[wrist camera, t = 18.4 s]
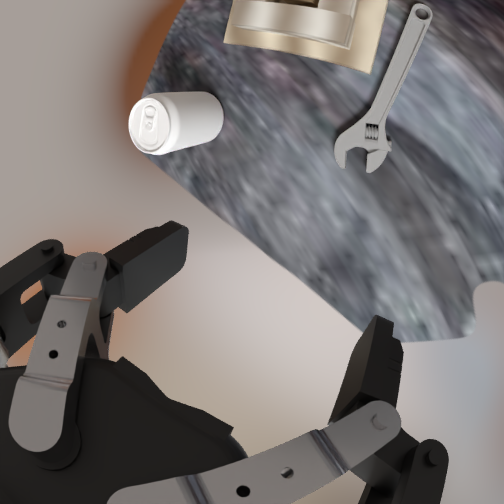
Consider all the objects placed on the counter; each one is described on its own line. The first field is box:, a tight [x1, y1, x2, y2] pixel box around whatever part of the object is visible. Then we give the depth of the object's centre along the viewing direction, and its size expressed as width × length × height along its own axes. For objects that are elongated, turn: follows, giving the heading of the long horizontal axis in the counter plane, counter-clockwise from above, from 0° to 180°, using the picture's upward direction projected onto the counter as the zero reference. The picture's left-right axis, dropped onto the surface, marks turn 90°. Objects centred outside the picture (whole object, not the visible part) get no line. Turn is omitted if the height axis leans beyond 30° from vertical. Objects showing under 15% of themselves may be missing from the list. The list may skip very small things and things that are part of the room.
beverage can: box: [129, 92, 224, 155], centre depth 38 cm, size 8×8×12 cm
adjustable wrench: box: [334, 4, 432, 173], centre depth 29 cm, size 25×6×2 cm, turn 155°
